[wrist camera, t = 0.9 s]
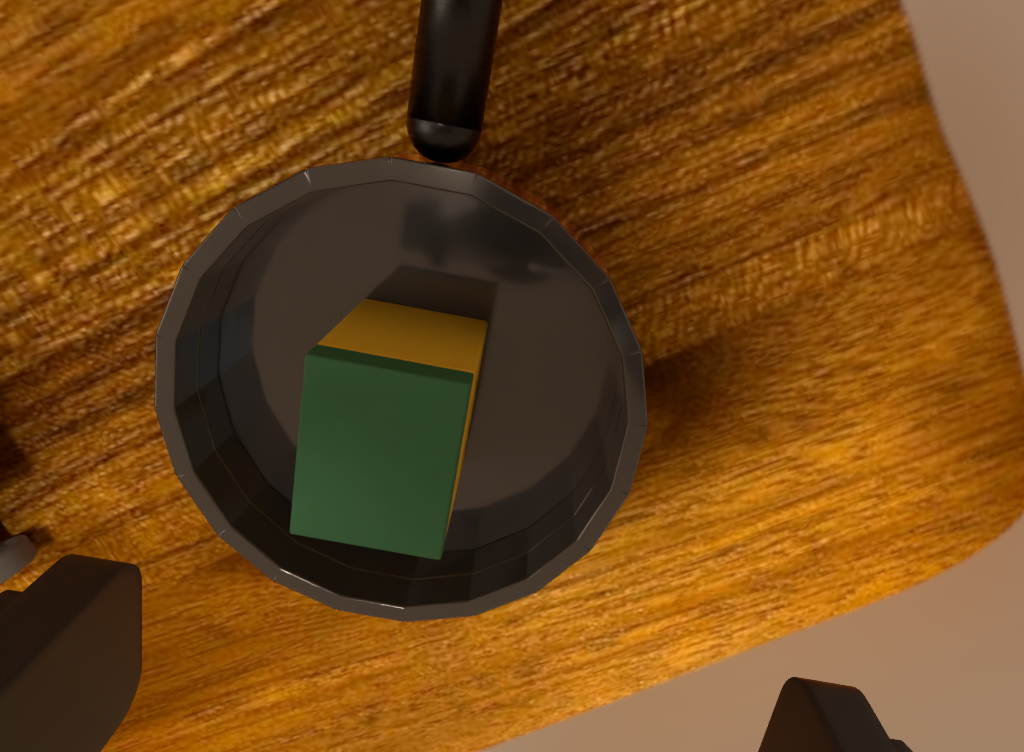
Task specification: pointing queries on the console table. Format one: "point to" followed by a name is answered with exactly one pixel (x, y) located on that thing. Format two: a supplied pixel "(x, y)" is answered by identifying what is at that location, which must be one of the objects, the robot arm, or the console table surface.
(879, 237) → the console table surface
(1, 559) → the toy car
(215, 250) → the skillet
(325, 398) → the sponge
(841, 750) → the robot arm
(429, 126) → the skillet handle
